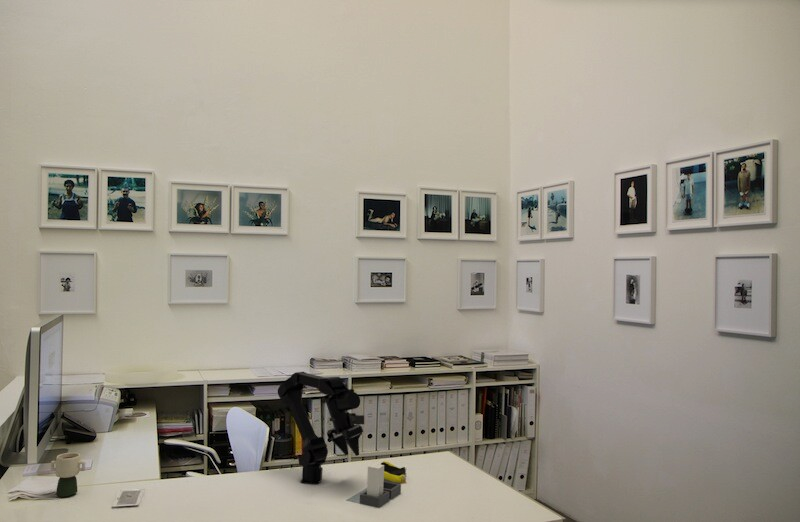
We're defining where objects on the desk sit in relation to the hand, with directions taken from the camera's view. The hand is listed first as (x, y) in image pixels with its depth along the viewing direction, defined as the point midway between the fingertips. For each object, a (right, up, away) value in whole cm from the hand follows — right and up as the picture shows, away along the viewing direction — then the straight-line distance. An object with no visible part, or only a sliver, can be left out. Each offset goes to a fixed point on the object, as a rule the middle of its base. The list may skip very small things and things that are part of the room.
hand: (352, 455), depth 220 cm
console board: (+8, -13, -8) cm, 17 cm away
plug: (+8, -12, -13) cm, 19 cm away
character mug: (-93, -9, -14) cm, 95 cm away
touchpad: (-72, -10, -15) cm, 74 cm away
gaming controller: (+14, -14, +12) cm, 23 cm away
